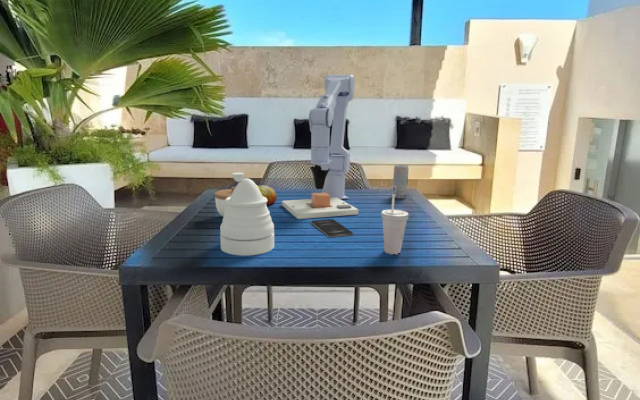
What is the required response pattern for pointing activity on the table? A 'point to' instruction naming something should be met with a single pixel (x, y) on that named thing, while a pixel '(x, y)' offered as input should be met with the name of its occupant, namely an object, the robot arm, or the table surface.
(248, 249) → the honey pot
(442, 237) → the table surface
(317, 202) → the orange cube
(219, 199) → the lidded jar
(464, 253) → the table surface
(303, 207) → the socket plate
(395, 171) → the energy drink
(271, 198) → the fruit
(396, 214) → the smoothie
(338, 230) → the smartphone
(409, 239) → the table surface
